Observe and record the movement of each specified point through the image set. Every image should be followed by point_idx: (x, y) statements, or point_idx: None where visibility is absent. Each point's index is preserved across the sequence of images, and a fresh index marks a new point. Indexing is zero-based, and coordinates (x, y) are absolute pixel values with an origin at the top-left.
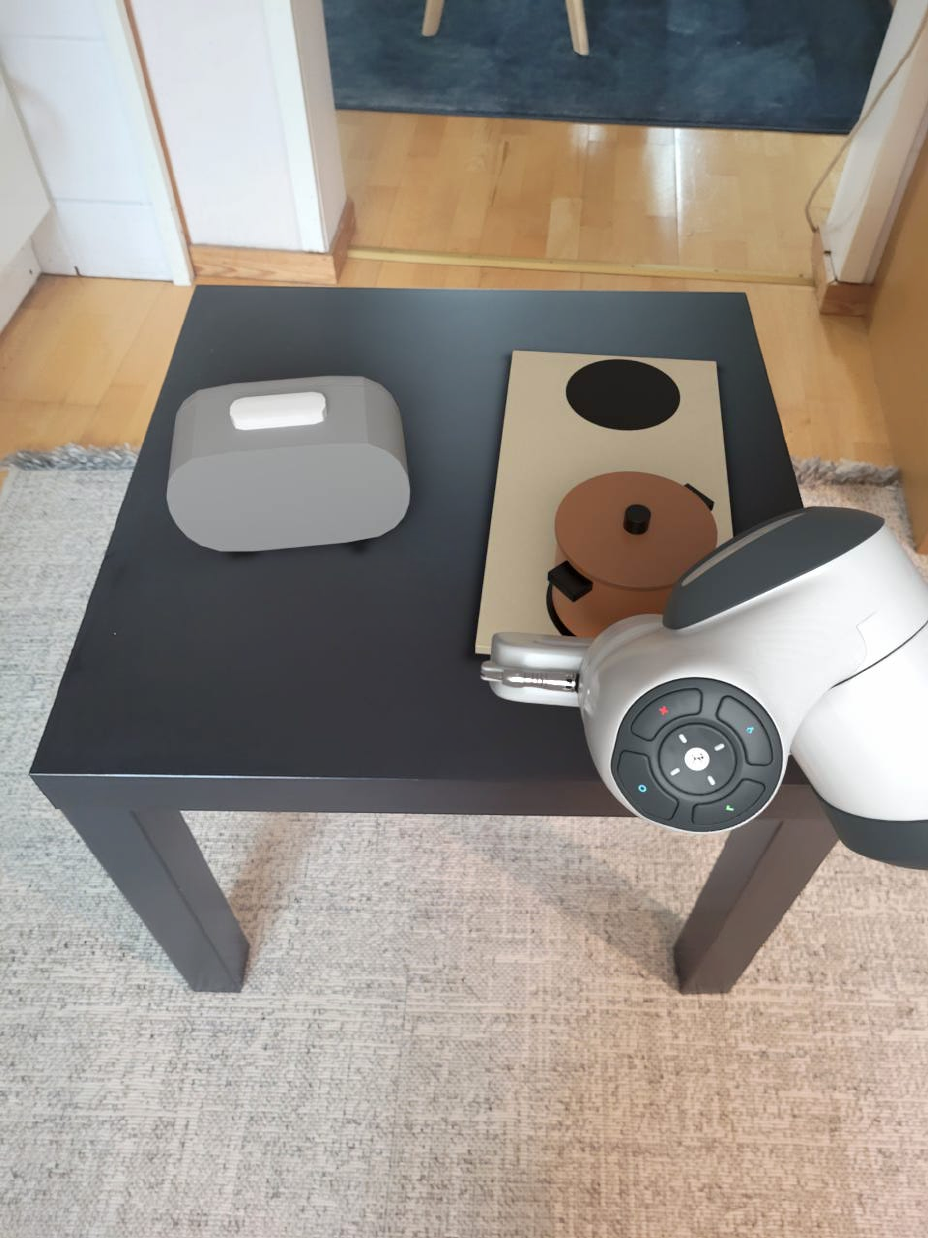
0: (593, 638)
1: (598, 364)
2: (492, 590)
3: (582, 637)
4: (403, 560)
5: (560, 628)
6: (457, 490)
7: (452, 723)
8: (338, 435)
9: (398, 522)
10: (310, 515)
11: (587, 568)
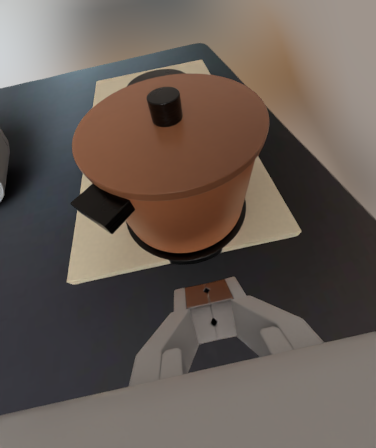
0: (59, 439)
1: (142, 75)
2: (83, 223)
3: (20, 445)
4: (23, 217)
5: (139, 241)
6: (66, 159)
7: (47, 380)
8: None
9: (2, 190)
10: None
11: (110, 184)
